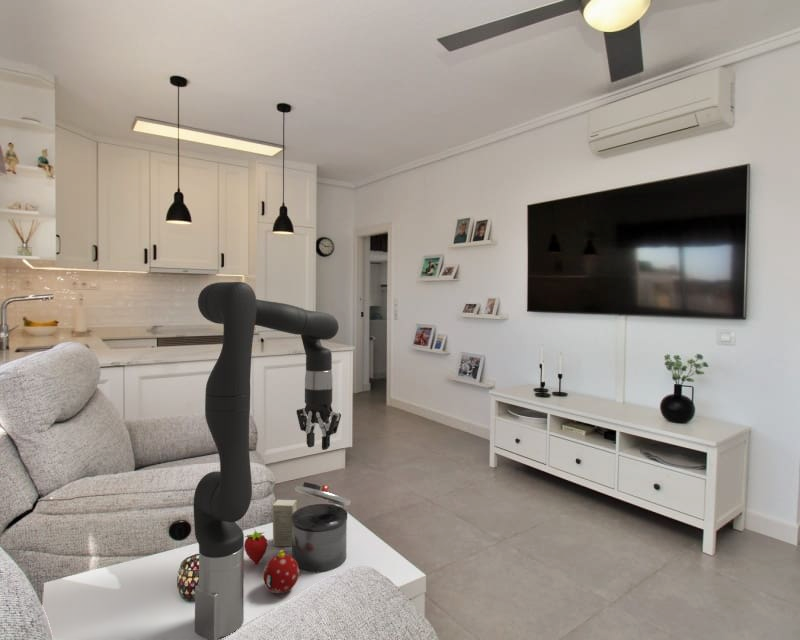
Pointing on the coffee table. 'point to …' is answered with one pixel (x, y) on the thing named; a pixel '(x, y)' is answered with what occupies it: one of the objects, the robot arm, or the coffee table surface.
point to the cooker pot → (319, 537)
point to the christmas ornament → (281, 573)
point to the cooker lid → (321, 493)
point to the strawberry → (256, 546)
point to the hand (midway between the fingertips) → (318, 447)
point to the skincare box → (283, 522)
